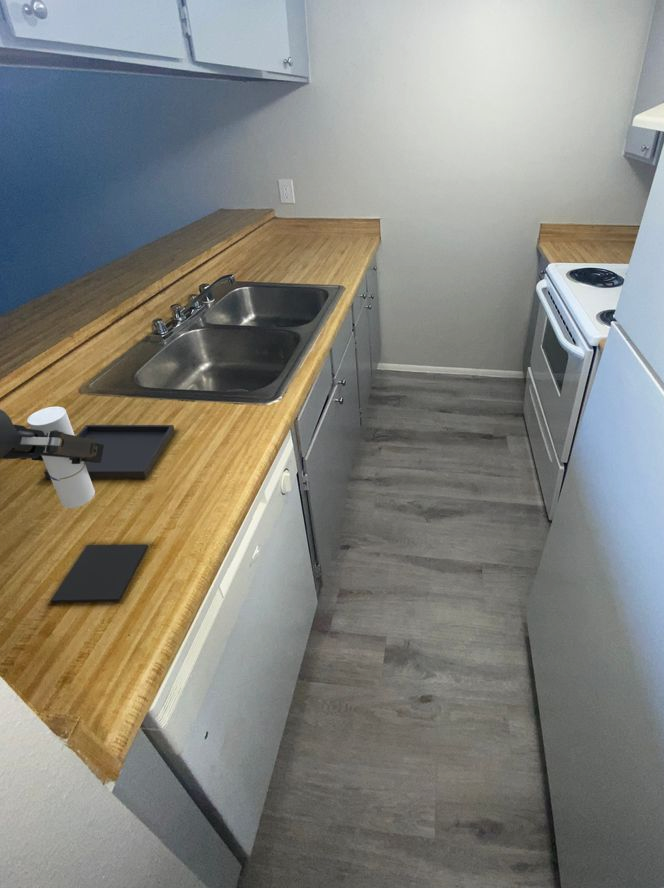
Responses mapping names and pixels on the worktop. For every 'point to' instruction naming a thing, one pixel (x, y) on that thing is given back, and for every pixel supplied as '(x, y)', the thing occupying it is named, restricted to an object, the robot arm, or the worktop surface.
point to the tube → (63, 460)
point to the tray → (126, 449)
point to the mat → (100, 574)
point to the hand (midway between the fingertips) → (82, 453)
